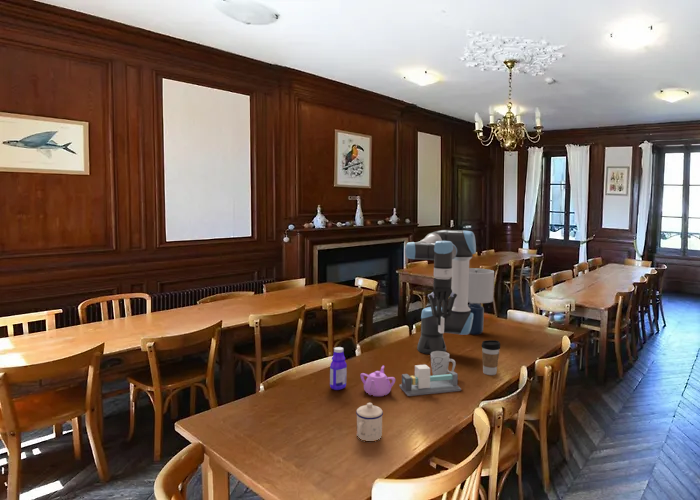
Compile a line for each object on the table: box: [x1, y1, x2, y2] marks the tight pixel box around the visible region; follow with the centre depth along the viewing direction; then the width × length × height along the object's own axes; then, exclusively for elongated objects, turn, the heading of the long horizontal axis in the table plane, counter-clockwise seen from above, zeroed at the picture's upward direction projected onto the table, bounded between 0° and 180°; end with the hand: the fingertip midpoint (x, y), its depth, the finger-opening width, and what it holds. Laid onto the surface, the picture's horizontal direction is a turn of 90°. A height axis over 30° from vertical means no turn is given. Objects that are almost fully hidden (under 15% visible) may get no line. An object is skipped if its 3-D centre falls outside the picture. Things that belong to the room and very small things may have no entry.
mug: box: [430, 351, 457, 376], centre depth 219 cm, size 11×8×10 cm
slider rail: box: [399, 371, 462, 397], centre depth 204 cm, size 10×24×6 cm, turn 104°
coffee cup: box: [481, 339, 501, 376], centre depth 223 cm, size 8×8×15 cm
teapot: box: [359, 365, 396, 397], centre depth 200 cm, size 12×14×9 cm
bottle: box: [329, 346, 348, 391], centre depth 204 cm, size 7×6×17 cm
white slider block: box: [414, 364, 431, 389], centre depth 203 cm, size 5×5×8 cm
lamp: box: [468, 267, 495, 336], centre depth 287 cm, size 20×20×39 cm
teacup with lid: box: [355, 402, 384, 441], centre depth 161 cm, size 12×9×12 cm
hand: (441, 332), depth 203 cm, fingers closed
